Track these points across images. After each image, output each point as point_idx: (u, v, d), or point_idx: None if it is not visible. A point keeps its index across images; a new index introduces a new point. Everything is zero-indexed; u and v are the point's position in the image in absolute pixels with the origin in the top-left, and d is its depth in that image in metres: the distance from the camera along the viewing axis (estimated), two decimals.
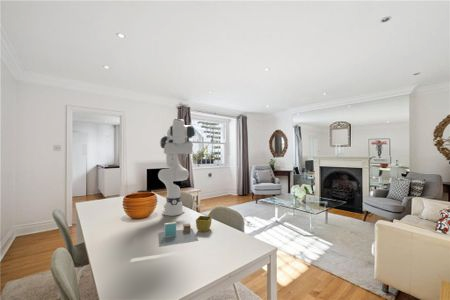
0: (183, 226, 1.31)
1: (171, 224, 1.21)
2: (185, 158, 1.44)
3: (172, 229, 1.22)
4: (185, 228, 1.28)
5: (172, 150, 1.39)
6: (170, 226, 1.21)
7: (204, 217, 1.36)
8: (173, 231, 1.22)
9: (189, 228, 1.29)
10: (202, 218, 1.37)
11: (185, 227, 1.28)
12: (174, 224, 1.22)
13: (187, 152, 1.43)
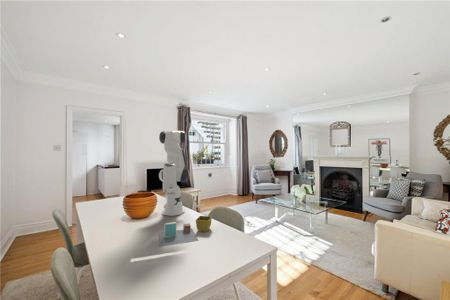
0: (183, 226, 1.31)
1: (171, 224, 1.21)
2: None
3: (172, 229, 1.22)
4: (185, 228, 1.28)
5: None
6: (170, 226, 1.21)
7: (204, 217, 1.36)
8: (173, 231, 1.22)
9: (189, 228, 1.29)
10: (202, 218, 1.37)
11: (185, 227, 1.28)
12: (174, 224, 1.22)
13: None
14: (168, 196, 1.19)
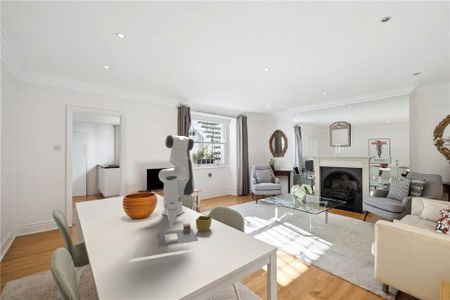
0: (183, 226, 1.31)
1: None
2: None
3: None
4: (185, 228, 1.28)
5: None
6: None
7: (204, 217, 1.36)
8: None
9: (189, 228, 1.29)
10: (202, 218, 1.37)
11: (185, 227, 1.28)
12: None
13: None
14: (169, 213, 1.11)
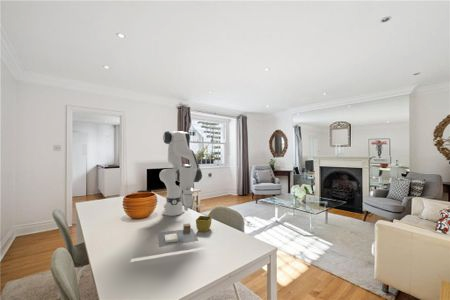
0: (183, 226, 1.31)
1: None
2: None
3: None
4: (185, 228, 1.28)
5: None
6: None
7: (204, 217, 1.36)
8: None
9: (189, 228, 1.29)
10: (202, 218, 1.37)
11: (185, 227, 1.28)
12: None
13: None
14: (186, 197, 1.21)
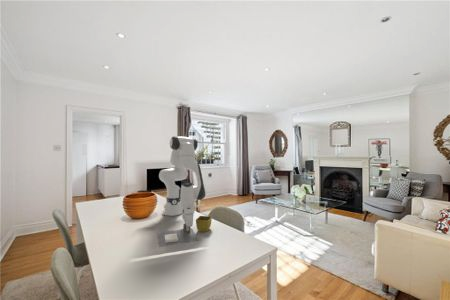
0: (183, 226, 1.31)
1: None
2: None
3: None
4: (185, 228, 1.28)
5: None
6: None
7: (204, 217, 1.36)
8: None
9: (189, 228, 1.29)
10: (202, 218, 1.37)
11: (185, 227, 1.28)
12: None
13: None
14: (187, 217, 1.21)
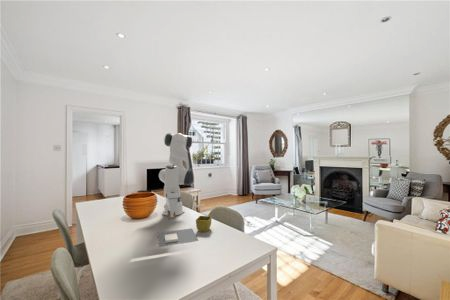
0: None
1: None
2: None
3: None
4: (169, 214, 1.16)
5: None
6: None
7: (204, 217, 1.36)
8: None
9: (174, 215, 1.17)
10: (202, 218, 1.37)
11: (169, 213, 1.16)
12: None
13: None
14: (170, 202, 1.09)
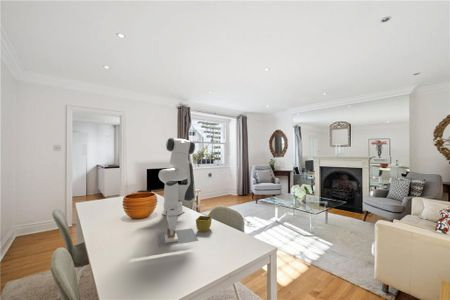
0: (167, 231, 1.19)
1: None
2: None
3: None
4: (169, 233, 1.16)
5: None
6: None
7: (204, 217, 1.36)
8: None
9: (173, 233, 1.17)
10: (202, 218, 1.37)
11: (169, 232, 1.16)
12: None
13: None
14: (169, 219, 1.09)
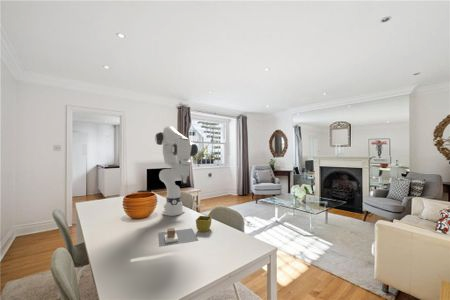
0: (167, 231, 1.19)
1: None
2: None
3: None
4: (169, 233, 1.16)
5: None
6: None
7: (204, 217, 1.36)
8: None
9: (173, 233, 1.17)
10: (202, 218, 1.37)
11: (169, 232, 1.16)
12: None
13: None
14: (183, 167, 1.24)
